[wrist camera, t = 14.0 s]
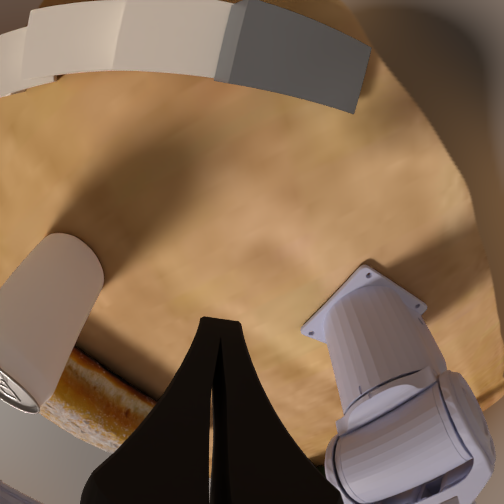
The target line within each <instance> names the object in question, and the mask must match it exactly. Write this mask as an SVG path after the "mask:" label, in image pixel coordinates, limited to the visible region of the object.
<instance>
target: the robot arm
mask: <svg viewBox="0 0 504 504" xmlns="http://www.w3.org/2000/svg"><path fill="white" fill-rule="evenodd" d="M368 273H370V274H369V275H367V274H368ZM426 310H427V305H426V304H425V303H424V302H422V301H421V300H420V299H418V298H417V297H415V296H414V295H412V294H411V293H409V292H408V291H406V290H405V289H403V288H402V287H400V286H399V285H397V284H396V283H394V282H393V281H391V280H390V279H388V278H386V277H385V276H383V275H382V274H380V273H379V272H377V271H376V270H374V269H373V268H371V267H369V266H368V265H362V266H360V267H359V268H358V269H357V270H356V271H355V272H354V273H353V274H352V275H351V277H350V278H349V279H348V280H347V281H346V282H345V283H344V284H343V285H342V286H341V287H340V288H339V289H338V290H337V291H336V293H335V294H334V295H333V296H332V297H331V298H330V299H329V300H328V301H327V302H326V303H325V304H324V305H323V306H322V307H321V308H320V309H319V310H318V311H317V312H316V313H315V314H314V315H313V316H312V317H311V318H310V319H309V320H308V321H307V322H306V323H305V324H304V325H303V326H302V327H301V333H302V334H303V335H305V336H308V337H311V338H313V339H316V340H318V341H321V342H324V343H326V344H327V346H328V350H329V354H330V358H331V362H332V366H333V370H334V374H335V379H336V383H337V387H338V391H339V395H340V400H341V404H342V409H343V413H344V416H343V417H342V418H341V419H339V420H337V421H336V427H337V432H338V434H337V435H335V436H334V437H333V438H332V439H331V440H330V442H329V444H328V446H327V449H326V454H325V474H326V478H327V479H326V478H325V477H324V476H323V475H322V474H321V472H320V471H319V470H318V469H317V468H316V467H315V466H314V465H313V464H312V462H311V461H310V460H309V459H308V458H307V457H306V455H305V454H304V453H303V451H302V450H301V449H300V448H299V446H298V445H297V444H296V442H295V441H294V440H293V438H292V437H291V436H290V434H289V433H288V431H287V430H286V428H285V427H284V425H283V424H282V422H281V420H280V419H279V417H278V415H277V414H276V412H275V410H274V409H273V407H272V405H271V403H270V401H269V399H268V397H267V395H266V393H265V391H264V389H263V387H262V385H261V383H260V380H259V378H258V376H257V373H256V371H255V368H254V366H253V363H252V361H251V358H250V355H249V352H248V349H247V346H246V343H245V339H244V335H243V331H242V326H241V323H240V322H239V321H232V320H225V319H218V318H211V317H205V316H204V317H202V318H200V323H199V326H198V329H197V332H196V335H195V337H194V340H193V342H192V344H191V347H190V349H189V351H188V353H187V354H186V356H185V358H184V360H183V362H182V364H181V366H180V368H179V369H178V371H177V373H176V374H175V376H174V378H173V379H172V381H171V383H170V384H169V386H168V387H167V389H166V390H165V392H164V393H163V395H162V396H161V398H160V399H159V400H158V402H157V403H156V405H155V406H154V407H153V409H152V410H151V411H150V412H149V414H148V415H147V416H146V418H145V419H144V420H143V421H142V422H141V424H140V425H139V426H138V427H137V428H136V430H135V431H134V432H133V433H132V434H131V435H130V436H129V437H128V438H127V439H126V440H125V441H124V442H123V444H122V445H121V446H120V447H119V448H118V449H117V450H116V451H115V452H114V453H113V454H112V455H111V456H109V458H107V459H106V460H105V461H104V462H103V463H102V464H101V465H100V466H98V467H97V468H96V469H95V470H94V471H93V472H92V474H91V476H90V477H89V479H88V481H87V483H86V484H85V487H84V489H83V492H82V495H81V501H80V504H476V502H475V499H476V497H477V495H478V494H479V493H480V492H481V490H482V489H483V488H484V486H485V485H486V483H487V482H488V480H489V479H490V477H491V476H492V473H493V471H494V463H495V460H496V454H495V447H494V443H493V440H492V437H491V435H490V433H489V430H488V426H487V423H486V420H485V418H484V415H483V412H482V410H481V408H480V406H479V404H478V402H477V400H476V398H475V396H474V394H473V392H472V390H471V388H470V387H469V385H468V384H467V382H466V381H465V379H464V378H463V377H462V375H461V374H460V373H457V372H451V371H450V370H447V366H446V362H445V359H444V357H443V355H442V353H441V351H440V349H439V347H438V345H437V344H436V342H435V340H434V338H433V336H432V334H431V332H430V331H429V329H428V327H427V325H426V323H425V322H424V320H423V318H422V316H421V315H422V314H423V313H424V312H425V311H426ZM311 331H312V332H311ZM211 390H212V405H213V454H212V471H211V487H210V503H209V427H210V402H211ZM0 504H43V503H41V502H39V501H37V500H35V499H33V498H31V497H29V496H27V495H25V494H23V493H21V492H19V491H18V490H16V489H14V488H12V487H10V486H9V485H7V484H5V483H3V482H2V480H0Z"/></svg>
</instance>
